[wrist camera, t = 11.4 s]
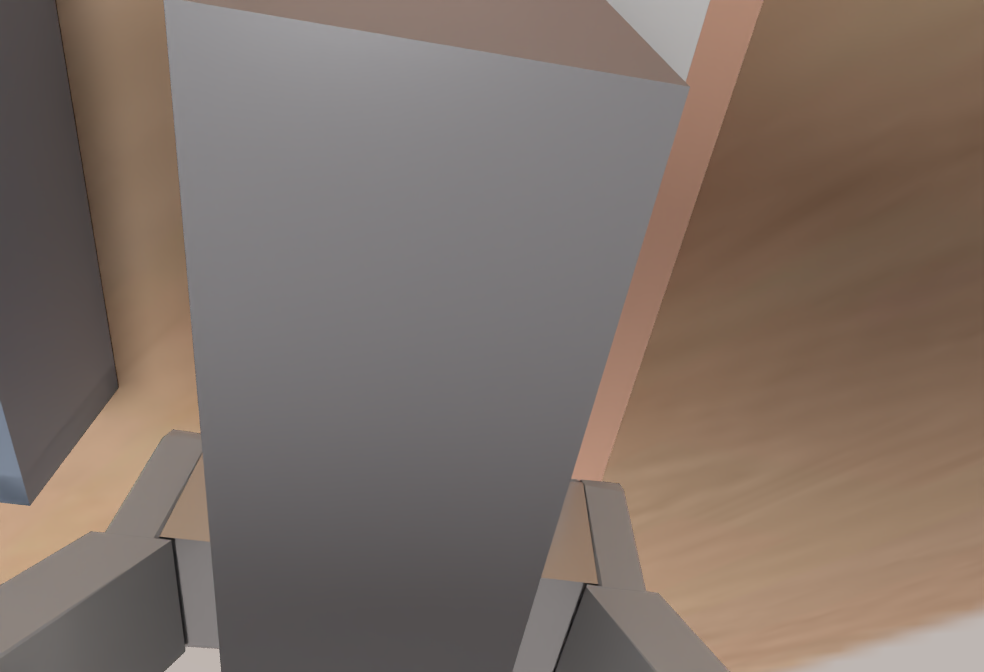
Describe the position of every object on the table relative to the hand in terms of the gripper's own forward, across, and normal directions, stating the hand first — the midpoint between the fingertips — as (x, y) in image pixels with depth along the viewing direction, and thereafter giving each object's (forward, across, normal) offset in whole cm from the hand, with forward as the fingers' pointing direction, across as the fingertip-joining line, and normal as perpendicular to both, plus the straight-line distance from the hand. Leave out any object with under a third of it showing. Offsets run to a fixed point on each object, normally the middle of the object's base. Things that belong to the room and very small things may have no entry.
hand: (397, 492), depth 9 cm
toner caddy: (+9, 0, 0) cm, 9 cm away
